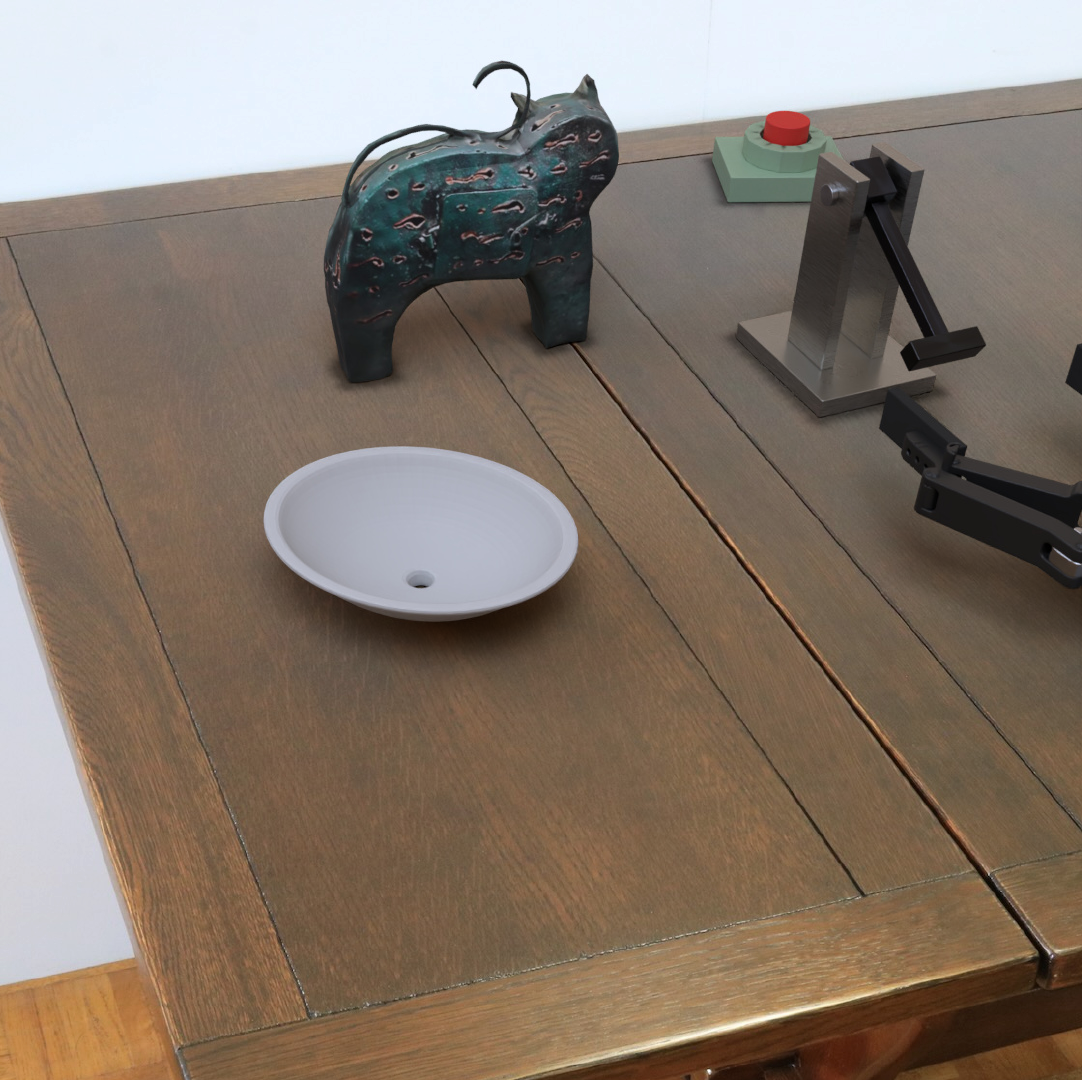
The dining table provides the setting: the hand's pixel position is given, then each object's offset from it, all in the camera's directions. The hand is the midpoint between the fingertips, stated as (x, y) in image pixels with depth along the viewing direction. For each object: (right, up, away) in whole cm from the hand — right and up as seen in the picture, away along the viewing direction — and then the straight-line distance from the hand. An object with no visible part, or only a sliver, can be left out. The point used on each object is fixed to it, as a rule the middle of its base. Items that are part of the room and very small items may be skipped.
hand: (983, 384), depth 91 cm
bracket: (-6, +4, +15) cm, 16 cm away
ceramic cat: (-31, +4, +16) cm, 35 cm away
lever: (-4, +8, +6) cm, 11 cm away
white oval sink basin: (-34, -13, -4) cm, 36 cm away
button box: (-5, +23, +37) cm, 43 cm away
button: (-5, +25, +34) cm, 43 cm away
